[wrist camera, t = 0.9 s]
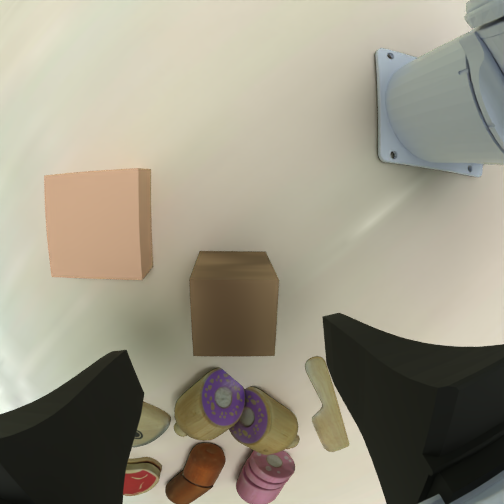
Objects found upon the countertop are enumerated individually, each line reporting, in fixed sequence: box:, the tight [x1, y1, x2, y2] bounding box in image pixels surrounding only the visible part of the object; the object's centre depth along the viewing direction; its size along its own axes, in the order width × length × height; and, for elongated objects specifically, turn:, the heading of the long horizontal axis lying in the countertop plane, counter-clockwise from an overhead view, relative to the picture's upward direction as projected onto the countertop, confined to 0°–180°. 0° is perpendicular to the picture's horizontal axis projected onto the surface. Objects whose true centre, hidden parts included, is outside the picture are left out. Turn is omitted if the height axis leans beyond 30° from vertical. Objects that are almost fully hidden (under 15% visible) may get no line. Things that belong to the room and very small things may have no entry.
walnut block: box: [190, 251, 279, 356], centre depth 17 cm, size 4×4×6 cm
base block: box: [44, 168, 153, 280], centre depth 17 cm, size 6×6×3 cm
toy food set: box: [123, 356, 349, 504], centre depth 22 cm, size 26×16×4 cm, turn 110°
